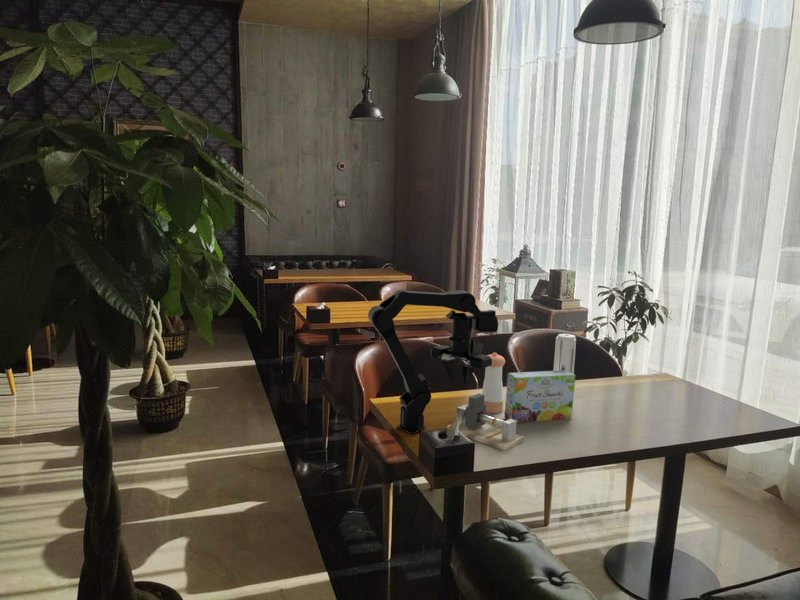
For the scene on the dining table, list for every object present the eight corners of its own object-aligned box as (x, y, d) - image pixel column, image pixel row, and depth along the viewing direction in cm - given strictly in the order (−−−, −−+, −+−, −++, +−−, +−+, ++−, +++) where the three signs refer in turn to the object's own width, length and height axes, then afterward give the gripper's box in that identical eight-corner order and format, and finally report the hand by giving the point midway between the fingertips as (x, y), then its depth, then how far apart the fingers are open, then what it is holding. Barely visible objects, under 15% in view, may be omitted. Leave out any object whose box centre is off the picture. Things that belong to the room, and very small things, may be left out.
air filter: (568, 404, 193) (574, 333, 189) (572, 411, 186) (578, 337, 182) (549, 403, 193) (554, 332, 189) (552, 410, 187) (558, 336, 183)
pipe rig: (456, 424, 168) (456, 407, 168) (464, 421, 171) (464, 404, 170) (507, 442, 156) (508, 424, 155) (515, 438, 159) (516, 420, 158)
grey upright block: (465, 426, 165) (466, 396, 163) (476, 421, 169) (478, 392, 168) (473, 429, 163) (475, 399, 161) (485, 424, 167) (486, 395, 166)
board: (447, 429, 167) (447, 425, 167) (467, 421, 174) (467, 417, 174) (504, 450, 154) (505, 446, 153) (523, 440, 161) (524, 436, 161)
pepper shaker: (496, 414, 181) (499, 357, 178) (476, 409, 185) (479, 352, 182) (506, 409, 187) (510, 352, 184) (487, 404, 191) (490, 349, 188)
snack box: (512, 424, 173) (515, 377, 171) (503, 418, 178) (506, 372, 176) (572, 419, 179) (576, 373, 177) (562, 413, 184) (566, 368, 182)
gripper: (503, 335, 166) (500, 386, 168) (453, 324, 178) (451, 372, 181) (482, 340, 158) (479, 394, 160) (430, 329, 170) (428, 379, 173)
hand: (459, 384), depth 169 cm, fingers open, 4 cm apart
